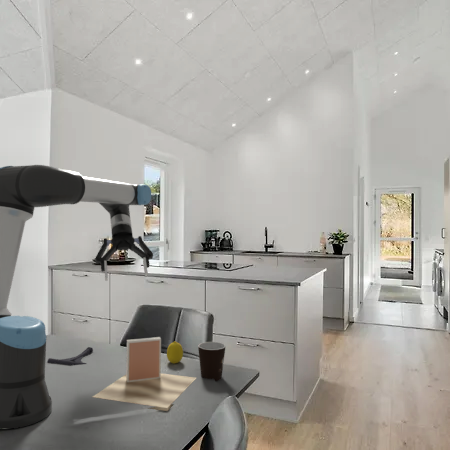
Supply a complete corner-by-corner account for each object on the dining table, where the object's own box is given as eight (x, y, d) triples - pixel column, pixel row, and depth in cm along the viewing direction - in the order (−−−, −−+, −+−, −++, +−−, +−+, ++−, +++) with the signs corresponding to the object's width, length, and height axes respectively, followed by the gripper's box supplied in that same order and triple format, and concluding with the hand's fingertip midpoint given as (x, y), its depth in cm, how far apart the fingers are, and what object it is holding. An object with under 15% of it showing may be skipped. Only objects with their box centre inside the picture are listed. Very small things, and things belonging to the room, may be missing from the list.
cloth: (167, 411, 102) (167, 408, 102) (92, 399, 108) (92, 396, 108) (196, 380, 123) (196, 377, 123) (132, 372, 129) (132, 369, 130)
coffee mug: (215, 385, 120) (215, 351, 120) (192, 379, 125) (192, 346, 125) (235, 373, 130) (235, 342, 130) (212, 368, 134) (213, 338, 134)
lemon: (186, 364, 137) (186, 341, 138) (173, 368, 133) (174, 344, 133) (175, 361, 141) (176, 338, 141) (163, 364, 137) (163, 341, 137)
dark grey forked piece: (108, 355, 148) (108, 348, 148) (83, 368, 134) (83, 360, 134) (74, 352, 152) (75, 344, 152) (47, 364, 138) (47, 356, 138)
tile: (126, 379, 121) (126, 339, 121) (159, 375, 125) (159, 337, 125) (127, 382, 119) (127, 341, 119) (160, 378, 123) (161, 338, 123)
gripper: (153, 233, 159) (161, 278, 147) (87, 237, 152) (89, 285, 139) (155, 220, 154) (163, 267, 141) (86, 224, 146) (88, 274, 134)
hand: (126, 276), depth 140 cm, fingers open, 13 cm apart
